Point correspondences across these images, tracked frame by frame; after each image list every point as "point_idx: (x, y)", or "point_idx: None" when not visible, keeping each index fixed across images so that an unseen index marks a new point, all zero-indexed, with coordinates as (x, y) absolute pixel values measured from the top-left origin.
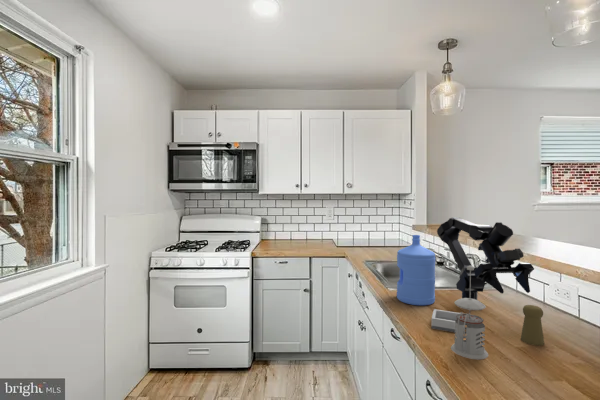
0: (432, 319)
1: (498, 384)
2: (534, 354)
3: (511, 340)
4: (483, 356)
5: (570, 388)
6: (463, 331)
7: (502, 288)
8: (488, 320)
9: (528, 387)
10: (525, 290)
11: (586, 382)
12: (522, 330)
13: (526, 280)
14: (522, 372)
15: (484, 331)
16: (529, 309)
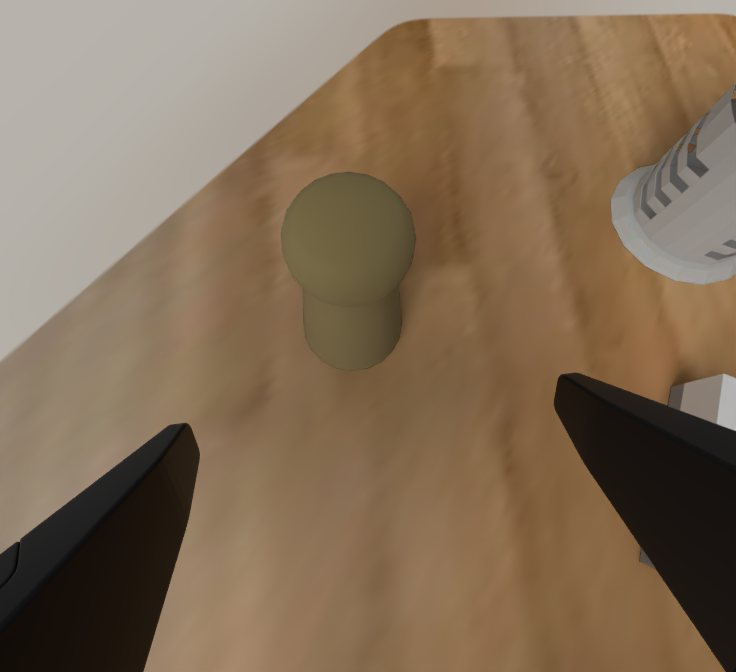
0: None
1: (638, 47)
2: (425, 204)
3: (452, 325)
4: (643, 168)
5: (445, 37)
6: (685, 386)
7: (593, 392)
8: (449, 641)
9: (560, 38)
10: (191, 492)
11: (375, 60)
12: (397, 319)
13: (33, 563)
14: (539, 98)
15: (702, 129)
16: (397, 195)
